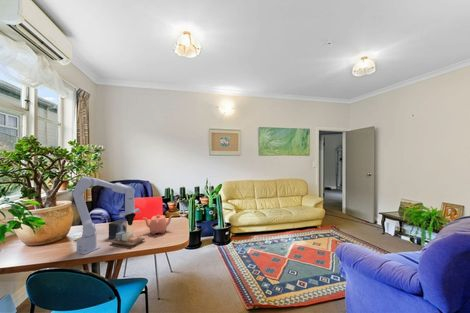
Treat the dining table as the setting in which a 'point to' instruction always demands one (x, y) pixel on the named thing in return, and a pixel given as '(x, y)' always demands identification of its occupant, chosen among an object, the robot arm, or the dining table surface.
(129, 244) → the brown tray
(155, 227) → the teapot
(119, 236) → the button slate
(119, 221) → the small box
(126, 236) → the button cream
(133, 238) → the button terracotta
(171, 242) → the dining table surface
